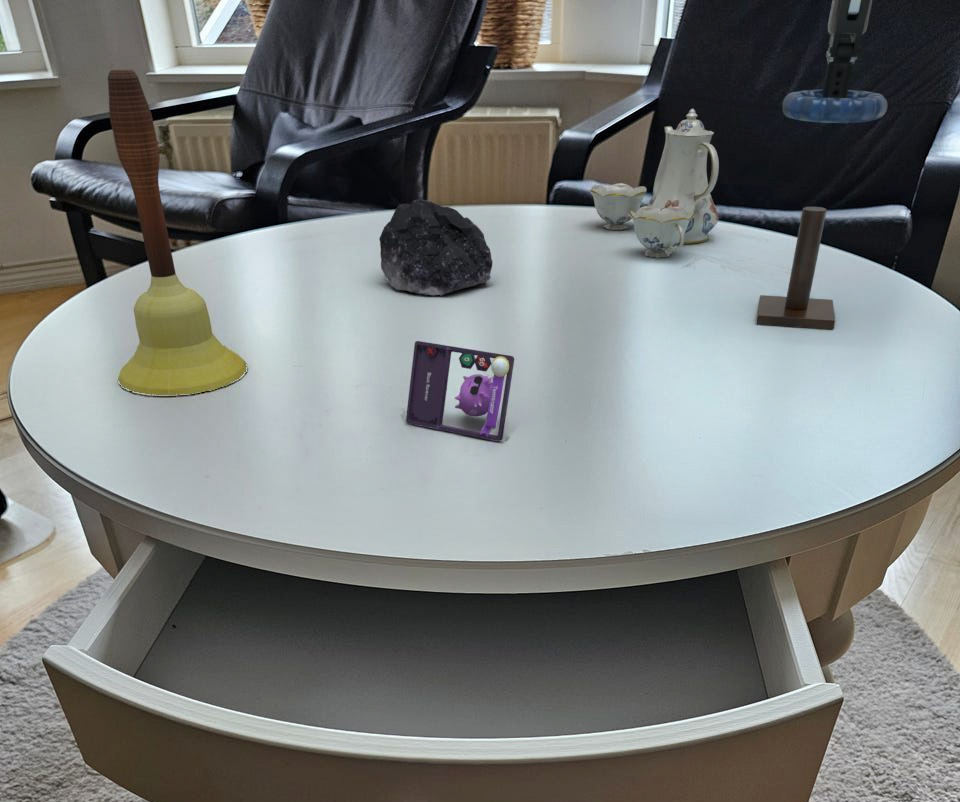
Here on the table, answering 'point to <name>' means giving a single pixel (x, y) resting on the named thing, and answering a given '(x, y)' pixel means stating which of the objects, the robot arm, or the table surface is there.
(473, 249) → the dark grey rock
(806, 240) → the post
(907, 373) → the table surface
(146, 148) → the handbell
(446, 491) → the table surface
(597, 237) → the table surface
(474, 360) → the game card
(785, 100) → the ring
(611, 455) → the table surface
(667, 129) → the chinaware
